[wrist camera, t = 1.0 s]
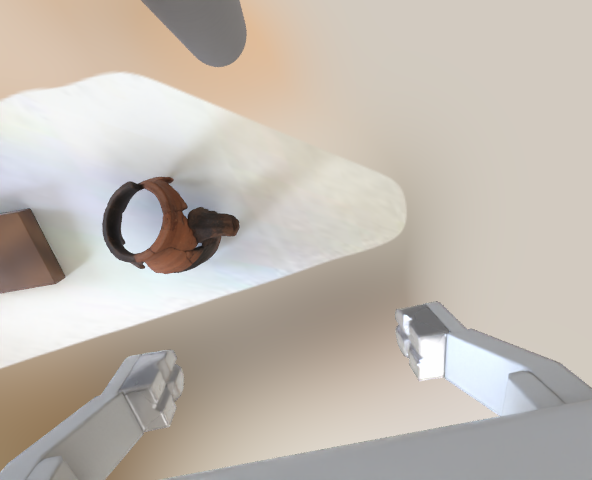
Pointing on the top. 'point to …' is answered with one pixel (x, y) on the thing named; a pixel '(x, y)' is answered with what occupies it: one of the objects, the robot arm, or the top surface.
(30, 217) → the cutting board
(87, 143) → the top surface
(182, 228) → the pottery mug
